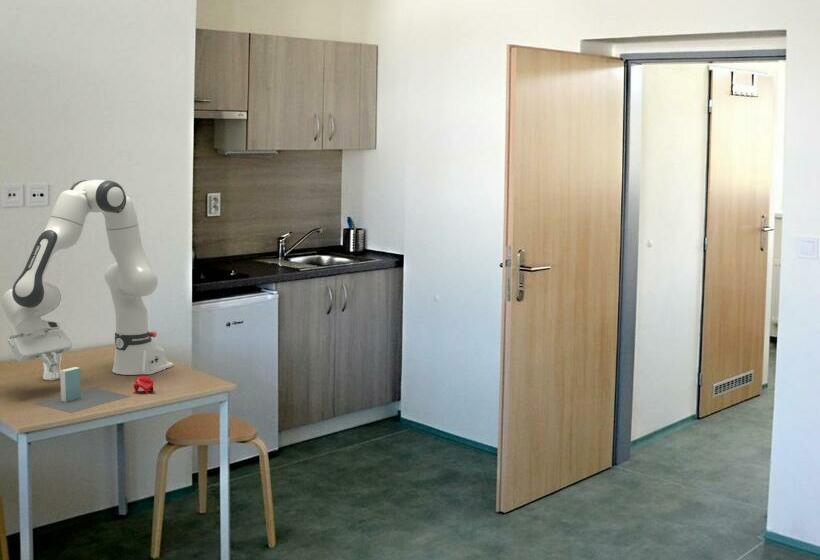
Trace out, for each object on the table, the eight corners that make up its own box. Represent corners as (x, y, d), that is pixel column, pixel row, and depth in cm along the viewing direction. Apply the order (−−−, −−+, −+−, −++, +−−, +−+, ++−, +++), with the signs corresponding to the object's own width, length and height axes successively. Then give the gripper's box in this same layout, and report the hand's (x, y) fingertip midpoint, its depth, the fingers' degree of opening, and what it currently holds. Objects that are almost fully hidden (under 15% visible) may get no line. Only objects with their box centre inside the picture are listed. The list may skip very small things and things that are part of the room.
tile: (76, 396, 333) (75, 366, 331) (81, 398, 331) (80, 367, 330) (61, 400, 328) (60, 370, 326) (66, 402, 326) (65, 371, 325)
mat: (92, 389, 344) (92, 387, 344) (130, 398, 335) (130, 396, 335) (32, 405, 324) (32, 403, 324) (71, 414, 315) (71, 412, 315)
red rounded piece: (146, 388, 336) (157, 375, 340) (131, 380, 337) (141, 368, 341) (147, 402, 341) (158, 390, 345) (132, 395, 343) (143, 383, 347)
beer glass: (43, 381, 353) (41, 338, 351) (40, 376, 360) (38, 334, 357) (64, 379, 357) (63, 337, 354) (61, 375, 363) (59, 333, 360)
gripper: (9, 330, 325) (30, 365, 322) (62, 321, 342) (82, 354, 339) (1, 342, 328) (21, 377, 325) (53, 333, 345) (73, 366, 342)
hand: (53, 365), depth 332 cm, fingers closed
